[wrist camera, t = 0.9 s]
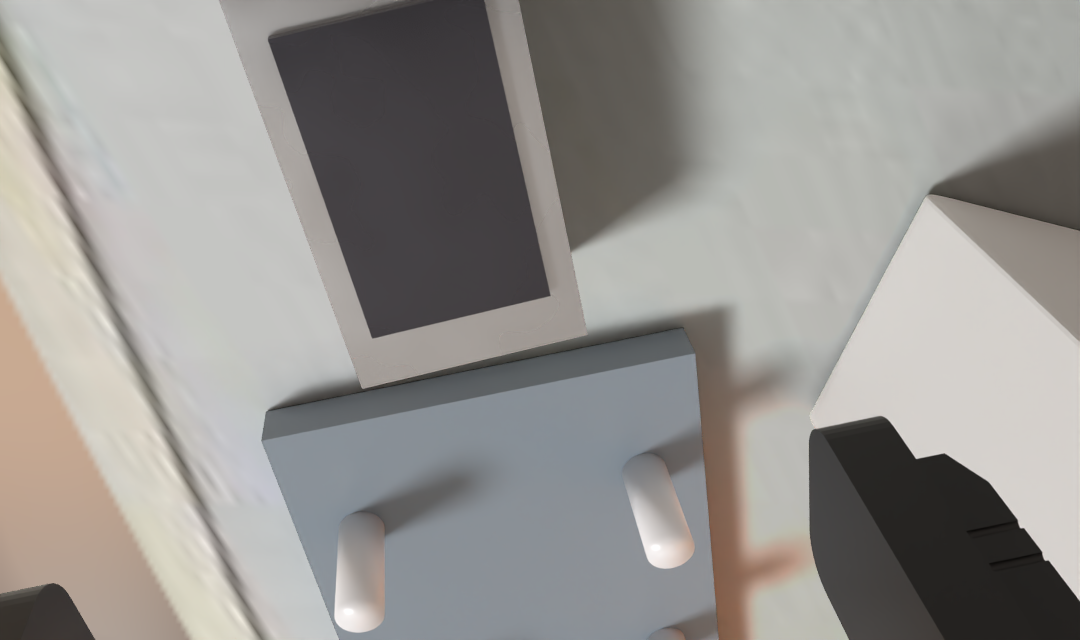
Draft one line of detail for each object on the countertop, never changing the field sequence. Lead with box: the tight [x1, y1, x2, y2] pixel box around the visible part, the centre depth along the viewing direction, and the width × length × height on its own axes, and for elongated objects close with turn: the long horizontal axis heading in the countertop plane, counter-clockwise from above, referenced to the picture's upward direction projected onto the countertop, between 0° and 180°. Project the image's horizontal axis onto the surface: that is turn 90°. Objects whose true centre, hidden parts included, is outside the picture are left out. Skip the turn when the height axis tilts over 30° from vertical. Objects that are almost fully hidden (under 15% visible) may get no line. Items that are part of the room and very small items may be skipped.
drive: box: [219, 0, 588, 389], centre depth 21 cm, size 9×5×4 cm, turn 11°
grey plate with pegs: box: [261, 328, 719, 640], centre depth 28 cm, size 14×11×4 cm
